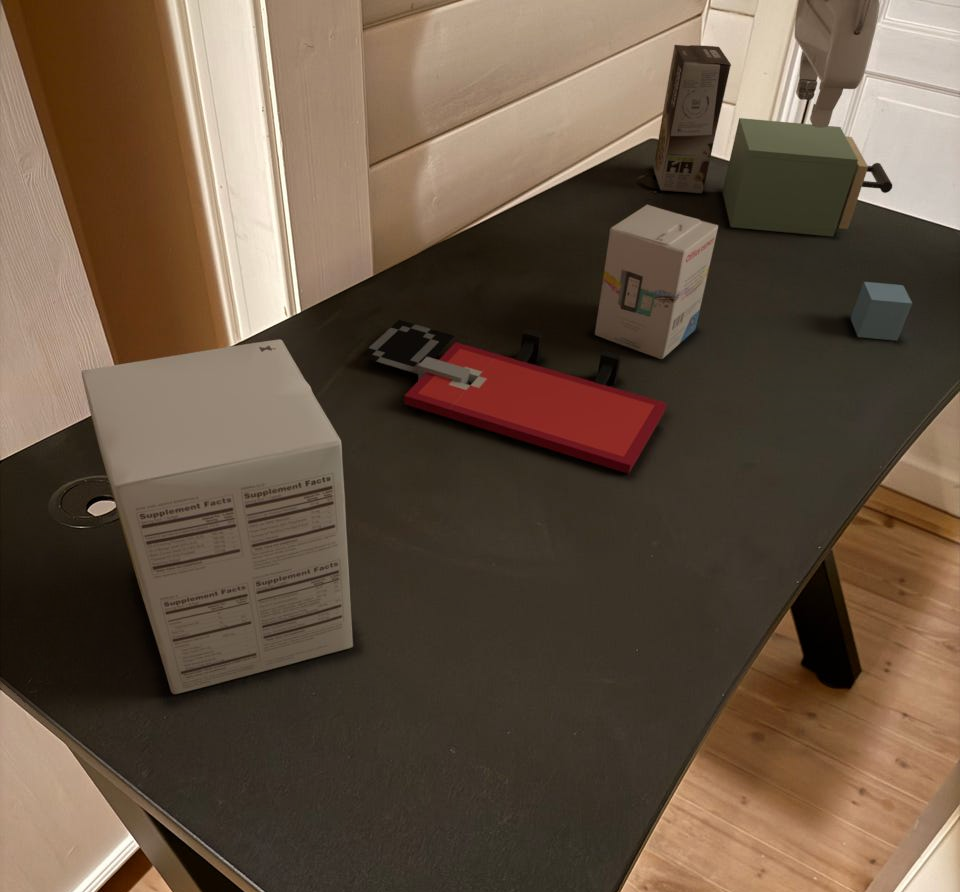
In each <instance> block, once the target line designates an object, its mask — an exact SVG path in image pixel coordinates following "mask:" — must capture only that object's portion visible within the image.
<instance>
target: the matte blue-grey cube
mask: <svg viewBox="0 0 960 892" xmlns="http://www.w3.org/2000/svg"><path fill="white" fill-rule="evenodd" d="M856 299H857V300H856V303H855V304H854V305H855V306H854V308H853V310H852V314H851V317H850V321H851V324H852V326H853V329H854V330H855V334H856V336H857V338H863V339H874V340H886V341H896V342H897V341H898V340H899V337H900V335H901V332H902V330H903V327H904V325H905V322H906V320H907V317H908V315H909V313H910V310H911V307H912V306H913V302H912V300H911V298H910V295H909V294H908V292H907V290H906V288H905V286H904V285H902V284H894V283H893V284H892V283H881V282H873V281H871V282H870V281H863V283H862V286H861V289H860V291H859V294H858V296H857V298H856Z"/></svg>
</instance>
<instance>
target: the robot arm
mask: <svg viewBox="0 0 960 892" xmlns="http://www.w3.org/2000/svg"><path fill="white" fill-rule="evenodd" d="M879 14H880V0H798V1H797V9H796V12H795V19H794V39H795V40H796V42H797V44H798V45H799V47H800V49H801V55H800V64H799V74H798V75H799V76H798V82H797V86H796V91H795V94H796V96H797V97H798V99H799V100H805V101H811V100H812V99H814V97H815V94H816V91H817V86H818V79H819V81H820V83H819V87H818V88H819V89H818V90H819V92H818V95H817V98H816V101H815V103H813V104H812V109H811V114H810V117H809V120H810V124H812V125H813V126H814V127H823V128H825V127H827V126H830V125H829V124H830V122H831V119H832V116H833V112H834V110H835V108H836V105H837V104H838V102H839V101H840V98H841V96H842V95H843V92H844V90H856V89H857V88H858V87H859V86H860V84H861V82H862V80H863V77H864V75H865V73H866V68H867V66H868V61H869V57H870V54H871V49H872V44H873V41H874V38H875V37H874V36H875V33H876V29H877V24H878V20H879Z"/></svg>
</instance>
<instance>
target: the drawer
mask: <svg viewBox="0 0 960 892" xmlns="http://www.w3.org/2000/svg"><path fill="white" fill-rule="evenodd" d="M845 136H846V135H845ZM846 138H847V140H848V142H849V144H850V146H851V148H852V150H853V151H854V153H855V155H856V157H857V159H858V161H857V164H856V168H855V171H854V174H853V177H852V180H851V183H850V186H849V189H848V193H847V196H846V199H845V202H844V205H843V208H842V211H841V214H840V218H839V221H838V224H837V228H838V229H839V230H841V229H842V230H848V229H849V227H850V224H851V220H852V218H853V215H854V212H855V208H856V206H857V202H858V199H859V196H860V194H861V190H862V188H868V189H869V188H870V189H879V190H880V191H881V193H883V194H887V193H889V192H890V191H891V190H892V189H893V183H892V181H891V180H890V178H889V176H888V174H887V172H886V171H885V169H884V167H883V166H882V164H881V163H879V162H875V163H873V164H872V165H868V164H867V162H866V160H865V158H864V156H863V155H862V153H861V151H860V149H859V148H858V145H857V144H856V142H855V140H854V138H853V137H852V136H846ZM867 173H871V174H872V176H873V178H874V180H875V181H869V180H865V178H866V175H867Z"/></svg>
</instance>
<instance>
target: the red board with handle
mask: <svg viewBox="0 0 960 892" xmlns="http://www.w3.org/2000/svg"><path fill="white" fill-rule="evenodd" d="M455 337H456V335H453V334H450V333H447V332H443V331H439V330H436V329H432V328H429V327H426V326H422V325H418V324H415V323H411V322H408V321H404V320H401V319H398V320H397V321H396V322H395V323H394V324H393V325H392V326H390V328H389V329H387V330H386V331H385V332H384V333H383V334H382V335H381V336H380V337H379V338H377V339H376V340H375V342H373V343H372V344H371V345H370V346H369V347H368V348H367V349H366V350H364V351H363V352H362V353H361V354H360V355H359V357H361V358H364V359H366V360H371V361H374V362H378V363H380V364H384V365H387V366H391V367H394V368H397V369H400V370H403V371H407V372H410V373H414V374H417V382H416V383H415V384H413V386H412V387H411V388H410V389H409V390H408V391H407V392H406V393H405V394H404V399H403V400H404V403H403V404H404V405H406V406H410V407H413V408H415V409H419V410H421V411H426V412H428V413H432V414H435V415H439V416H441V417H445V418H448V419H451V420H454V421H457V422H460V423H464V424H467V425H471V426H473V427H476V428H479V429H483V430H486V431H488V432H492V433H496V434H499V435H502V436H506V437H509V438H512V439H515V440H519V441H520V442H521V441H522V442H525V443H528V444H531V445H535V446H538V447H541V448H544V449H547V450H551V451H553V452H557V453H560V454H563V455H566V456H570V457H573V458H575V459H576V458H577V459H580V460H583V461H586V462H589V463H592V464H595V465H599V466H601V467H605V468H608V469H612V470H615V471H618V472H621V473H625V474H629V475H630V473H631V471H632V469H633V467H634V466H635V464H636V462H637V460H638V459H639V457H640V455H641V454H642V452H643V451H644V448H645V447H646V445H647V444H648V442H649V440H650V438H651V436H652V435H653V433H654V432H655V429H656V428H657V426H658V424H659V423H660V421H661V419H662V418H663V416H664V414H665V412H666V409H667V405H668V402H664V401H660V400H658V399H653V398H650V397H646V396H643V395H639V394H637V393H634V392H629V391H626V390H623V389H619V388H616V387H612V386H615V384H616V383H617V381H618V379H619V378H618V377H619V373H620V369H621V368H620V367H621V363H622V357H623V355H621V354H617V353H614V352H611V351H607V350H603V351H602V352H601V354H600V358H599V364H598V370H597V375H596V377H595V378H594V380H593V381H591V380H588V379H585V378H581V377H577V376H575V375H571V374H567V373H564V372H560V371H557V370H553V369H550V368H547V367H543V366H540V365H536V364H532V363H529V361H530V362H533V363H539V362H538V361H540V360H541V355H542V345H543V338H544V333H542V332H540V331H535V330H532V329H529V328H525V329H524V330H523V332H522V333H521V344H520V345H521V346H520V350H518V353H517V354H516V357H514V358H511V357H509V356H504V355H502V354H498V353H494V352H491V351H487V350H484V349H480V348H477V347H474V346H470V345H467V344H463V343H460V342H457V341H456V342H454V343H453V344H452V345H451V346H450V348H449V349H448V350H447V351H445V353H444V354H443V355H442V356H441V357H440V358H439V359H436V358H435V357H436V356H437V355H438V354H440V352H441V351H442V350H444V348H445V347H446V346H447V345H448V344H449V343H450V342H451V341H452V340H453V339H454V338H455ZM470 383H471V384H470ZM607 384H610V385H612V386H608V385H607Z"/></svg>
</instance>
